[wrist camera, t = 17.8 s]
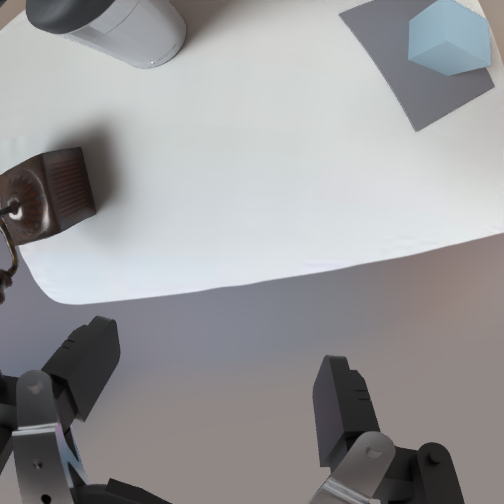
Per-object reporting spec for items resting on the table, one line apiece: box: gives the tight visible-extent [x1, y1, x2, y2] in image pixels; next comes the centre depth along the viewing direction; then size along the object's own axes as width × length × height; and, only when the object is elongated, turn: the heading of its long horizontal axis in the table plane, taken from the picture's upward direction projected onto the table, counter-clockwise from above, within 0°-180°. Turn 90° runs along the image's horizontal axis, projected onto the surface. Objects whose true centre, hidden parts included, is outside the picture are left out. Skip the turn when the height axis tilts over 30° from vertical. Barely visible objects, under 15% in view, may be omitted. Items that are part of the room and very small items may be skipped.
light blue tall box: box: [408, 0, 491, 76], centre depth 22 cm, size 6×6×10 cm
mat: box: [339, 0, 495, 132], centre depth 27 cm, size 18×18×1 cm
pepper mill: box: [0, 147, 95, 305], centre depth 30 cm, size 16×11×18 cm
